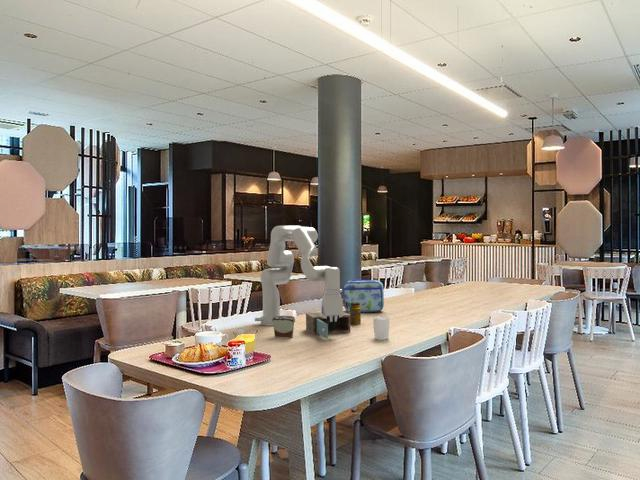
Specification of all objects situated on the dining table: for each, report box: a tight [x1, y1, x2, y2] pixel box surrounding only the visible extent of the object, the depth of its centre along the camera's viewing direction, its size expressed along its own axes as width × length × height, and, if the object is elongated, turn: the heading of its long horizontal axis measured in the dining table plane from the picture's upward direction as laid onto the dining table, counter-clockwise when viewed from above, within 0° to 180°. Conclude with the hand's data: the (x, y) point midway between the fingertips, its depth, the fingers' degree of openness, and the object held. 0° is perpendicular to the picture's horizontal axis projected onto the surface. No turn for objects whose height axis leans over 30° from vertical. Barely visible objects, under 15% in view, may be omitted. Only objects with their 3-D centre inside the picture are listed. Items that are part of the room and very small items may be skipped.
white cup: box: [372, 316, 390, 341], centre depth 254 cm, size 8×8×10 cm
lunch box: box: [342, 278, 385, 313], centre depth 337 cm, size 26×11×21 cm, turn 77°
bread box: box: [305, 311, 351, 336], centre depth 274 cm, size 20×14×9 cm
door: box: [316, 319, 329, 340], centre depth 257 cm, size 16×2×7 cm, turn 18°
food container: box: [272, 315, 296, 339], centre depth 262 cm, size 12×6×10 cm, turn 71°
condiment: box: [349, 302, 363, 327], centre depth 293 cm, size 7×8×12 cm
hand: (332, 329), depth 257 cm, fingers closed
